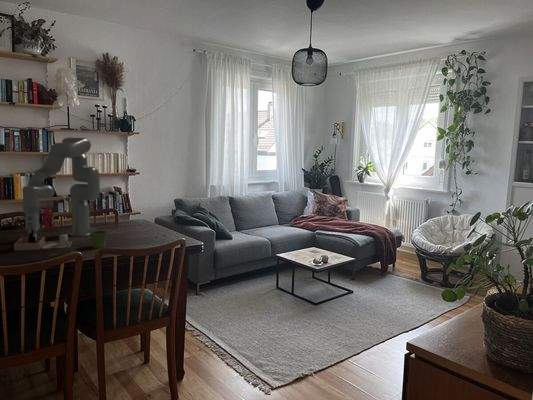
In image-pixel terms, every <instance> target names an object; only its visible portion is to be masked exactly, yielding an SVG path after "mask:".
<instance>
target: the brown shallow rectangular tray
mask: <svg viewBox="0 0 533 400" xmlns="http://www.w3.org/2000/svg"><path fill="white" fill-rule="evenodd" d="M45 242H46V237H45V236H37V243H28V236H26V237H20V238H19V239H18V240H17V241H15V243H14V244H13V251H14V252H15V251H16V252H19V251H21V252H22V251H37V250H38V251H39V250H42V249H41V247H42V246H43V245H44V243H45Z"/></svg>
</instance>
